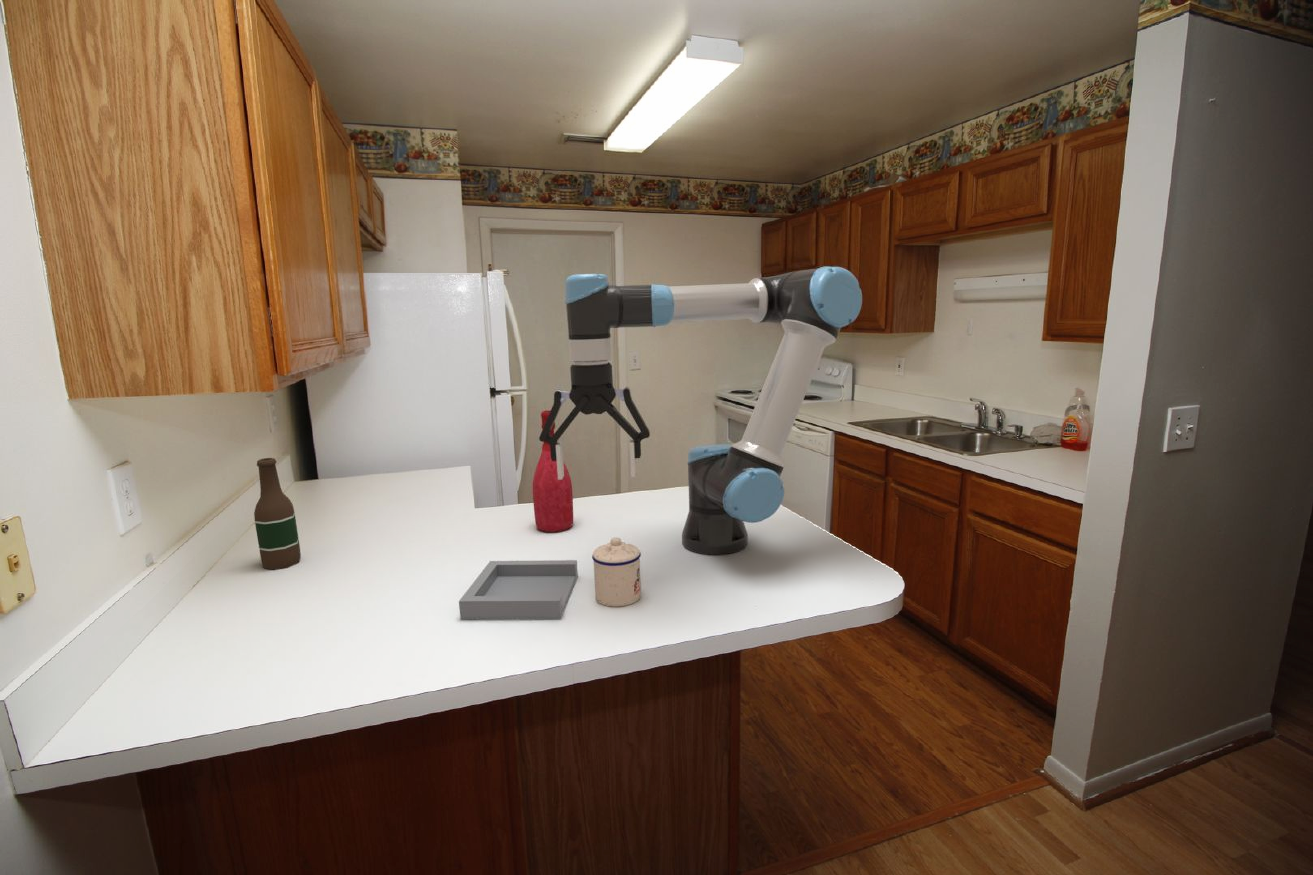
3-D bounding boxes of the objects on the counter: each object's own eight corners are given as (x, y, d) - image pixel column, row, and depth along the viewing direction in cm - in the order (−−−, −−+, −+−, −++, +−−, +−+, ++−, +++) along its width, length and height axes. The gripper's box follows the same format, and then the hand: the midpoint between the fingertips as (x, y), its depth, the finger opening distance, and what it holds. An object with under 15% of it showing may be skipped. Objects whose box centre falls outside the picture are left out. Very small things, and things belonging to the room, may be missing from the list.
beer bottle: (307, 562, 137) (291, 458, 132) (267, 573, 131) (250, 465, 127) (295, 553, 142) (280, 453, 137) (257, 564, 137) (240, 460, 132)
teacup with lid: (646, 604, 113) (644, 545, 110) (597, 610, 111) (594, 550, 109) (635, 578, 124) (633, 523, 122) (590, 583, 122) (587, 527, 120)
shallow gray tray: (577, 576, 126) (576, 560, 125) (560, 618, 108) (559, 600, 107) (491, 576, 127) (490, 560, 126) (460, 619, 109) (458, 601, 108)
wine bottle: (566, 534, 150) (559, 413, 144) (529, 532, 152) (520, 413, 146) (579, 521, 159) (573, 407, 153) (543, 519, 161) (536, 407, 155)
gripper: (659, 358, 114) (663, 469, 118) (526, 363, 114) (534, 473, 118) (660, 361, 106) (664, 479, 111) (517, 366, 107) (526, 484, 111)
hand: (597, 476), depth 115 cm, fingers open, 13 cm apart
